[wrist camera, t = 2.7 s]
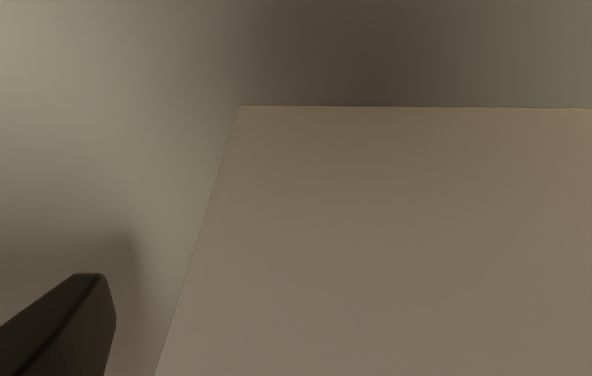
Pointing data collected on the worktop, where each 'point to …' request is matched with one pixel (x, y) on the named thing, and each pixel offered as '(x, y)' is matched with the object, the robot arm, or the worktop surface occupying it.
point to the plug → (393, 246)
